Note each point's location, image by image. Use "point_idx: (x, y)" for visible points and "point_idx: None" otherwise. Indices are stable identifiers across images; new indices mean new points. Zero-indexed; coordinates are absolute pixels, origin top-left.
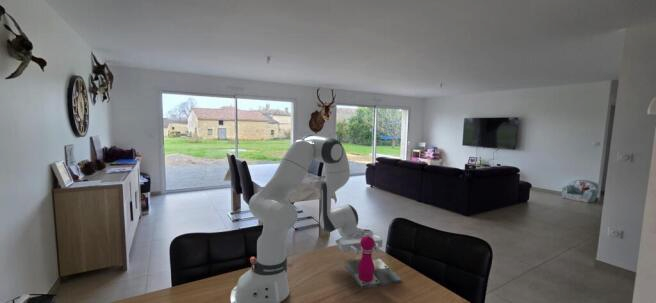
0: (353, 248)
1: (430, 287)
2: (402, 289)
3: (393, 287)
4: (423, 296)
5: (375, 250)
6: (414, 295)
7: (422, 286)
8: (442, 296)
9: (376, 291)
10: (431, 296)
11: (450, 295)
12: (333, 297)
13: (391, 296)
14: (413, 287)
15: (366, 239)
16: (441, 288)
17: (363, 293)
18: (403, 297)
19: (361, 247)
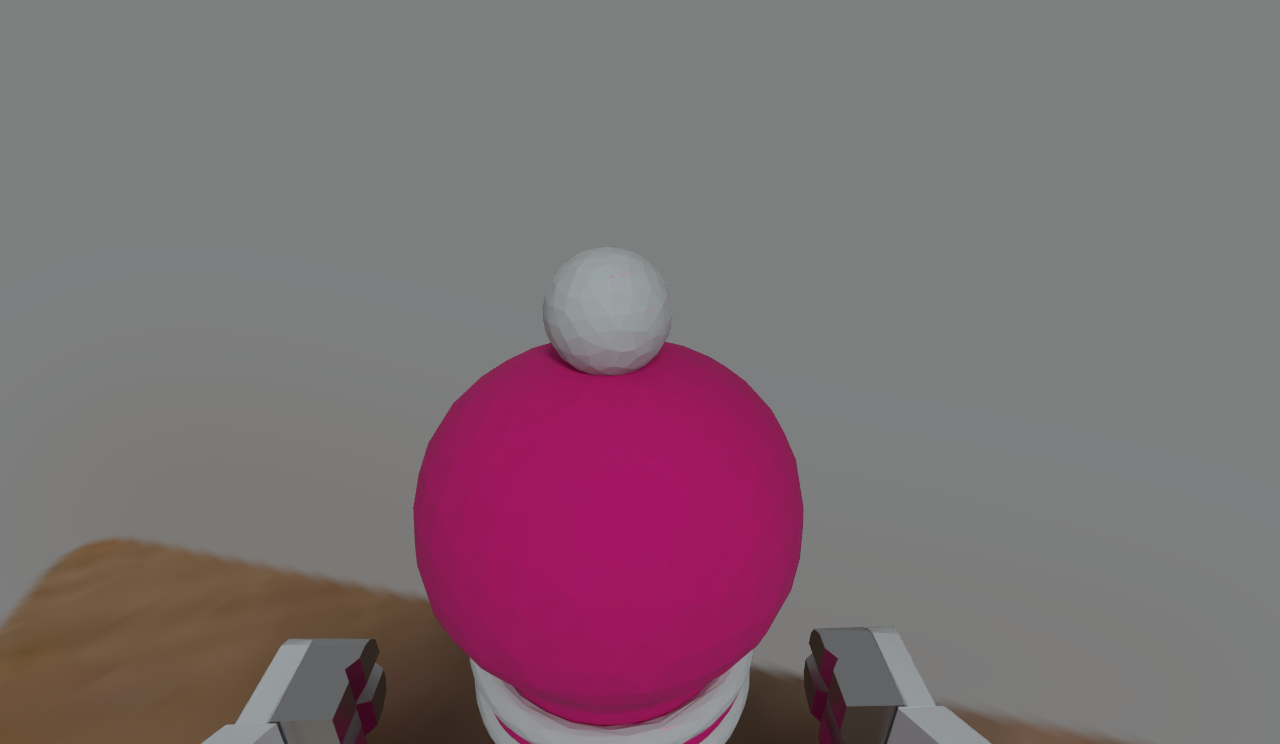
0: (963, 725)
1: (66, 654)
2: None
3: (383, 735)
4: (272, 577)
5: (375, 712)
6: (322, 599)
7: (107, 684)
8: (150, 552)
9: None
10: (220, 566)
11: (85, 549)
12: (1041, 725)
13: None
14: (203, 689)
15: (681, 347)
16: (8, 623)
17: None
18: (424, 598)
19: (744, 659)
